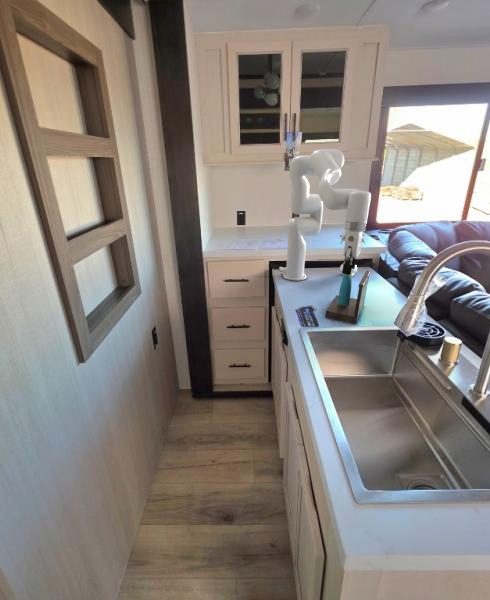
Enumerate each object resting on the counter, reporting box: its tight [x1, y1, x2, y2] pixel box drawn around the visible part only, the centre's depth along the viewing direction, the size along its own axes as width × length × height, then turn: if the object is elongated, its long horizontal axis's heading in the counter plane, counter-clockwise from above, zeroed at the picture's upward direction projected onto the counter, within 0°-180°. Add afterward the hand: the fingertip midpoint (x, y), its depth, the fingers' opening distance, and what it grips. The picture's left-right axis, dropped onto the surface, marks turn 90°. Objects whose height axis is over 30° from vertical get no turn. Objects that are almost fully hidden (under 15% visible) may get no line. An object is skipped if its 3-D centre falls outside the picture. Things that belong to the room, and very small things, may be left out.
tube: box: [337, 258, 353, 306], centre depth 126 cm, size 7×5×19 cm, turn 162°
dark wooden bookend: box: [324, 270, 371, 325], centre depth 127 cm, size 12×18×16 cm
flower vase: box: [339, 229, 366, 277], centre depth 169 cm, size 13×18×25 cm
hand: (348, 270), depth 124 cm, fingers closed on tube, 7 cm apart
